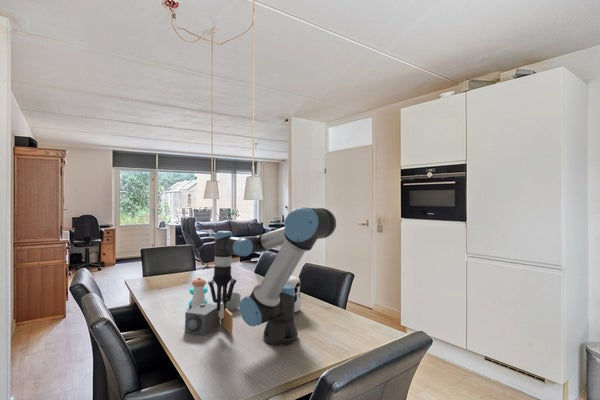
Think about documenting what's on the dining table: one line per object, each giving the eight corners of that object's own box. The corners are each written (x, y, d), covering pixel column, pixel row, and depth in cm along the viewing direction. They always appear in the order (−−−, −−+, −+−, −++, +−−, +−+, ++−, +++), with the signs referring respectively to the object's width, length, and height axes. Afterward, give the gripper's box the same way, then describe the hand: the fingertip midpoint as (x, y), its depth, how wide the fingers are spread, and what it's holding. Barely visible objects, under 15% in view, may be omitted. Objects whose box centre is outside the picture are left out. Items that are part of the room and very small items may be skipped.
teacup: (244, 309, 174) (244, 295, 174) (227, 314, 166) (228, 299, 166) (229, 303, 183) (230, 290, 183) (213, 308, 175) (213, 293, 175)
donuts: (201, 290, 173) (185, 289, 176) (200, 309, 173) (185, 307, 176) (211, 286, 183) (196, 284, 186) (210, 303, 182) (196, 301, 185)
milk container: (282, 304, 185) (283, 273, 185) (306, 310, 175) (307, 278, 175) (262, 312, 171) (263, 278, 171) (288, 319, 161) (288, 284, 161)
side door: (222, 322, 153) (223, 305, 153) (232, 333, 141) (233, 314, 141) (220, 322, 153) (220, 305, 153) (229, 333, 140) (230, 315, 140)
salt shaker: (193, 311, 168) (194, 276, 169) (207, 312, 168) (208, 276, 168) (188, 316, 161) (189, 279, 161) (202, 317, 161) (203, 279, 161)
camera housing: (220, 323, 153) (220, 303, 153) (202, 337, 137) (202, 314, 137) (201, 321, 155) (202, 301, 155) (182, 334, 140) (182, 312, 140)
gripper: (233, 262, 149) (232, 312, 149) (206, 264, 143) (204, 316, 142) (239, 265, 143) (237, 317, 143) (210, 267, 136) (208, 322, 136)
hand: (221, 317), depth 142 cm, fingers closed
